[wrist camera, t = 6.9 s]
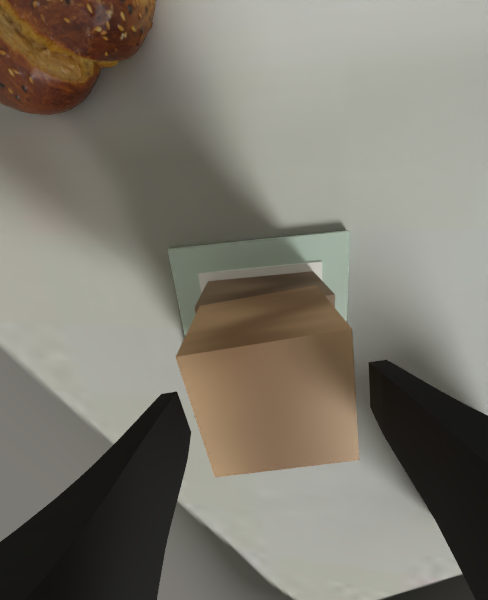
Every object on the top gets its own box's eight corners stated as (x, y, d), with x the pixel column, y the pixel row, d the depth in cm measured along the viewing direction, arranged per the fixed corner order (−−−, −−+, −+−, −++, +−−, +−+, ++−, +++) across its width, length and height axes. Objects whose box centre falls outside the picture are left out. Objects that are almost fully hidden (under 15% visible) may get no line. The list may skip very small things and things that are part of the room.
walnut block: (313, 271, 15) (335, 294, 11) (314, 362, 17) (333, 407, 13) (207, 281, 15) (194, 307, 11) (221, 369, 17) (214, 415, 13)
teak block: (316, 285, 11) (351, 328, 7) (326, 383, 13) (359, 460, 9) (199, 305, 11) (175, 356, 8) (224, 398, 13) (215, 477, 9)
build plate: (346, 229, 15) (350, 231, 14) (342, 379, 18) (345, 385, 17) (169, 248, 15) (166, 249, 15) (198, 390, 19) (196, 396, 18)
